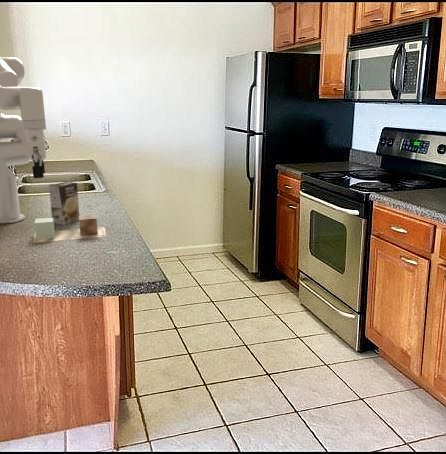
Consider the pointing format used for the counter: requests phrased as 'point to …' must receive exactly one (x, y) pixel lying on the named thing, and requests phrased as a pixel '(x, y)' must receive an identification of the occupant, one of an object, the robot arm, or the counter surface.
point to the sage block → (44, 228)
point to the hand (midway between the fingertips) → (39, 175)
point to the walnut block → (88, 225)
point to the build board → (71, 235)
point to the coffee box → (64, 202)
